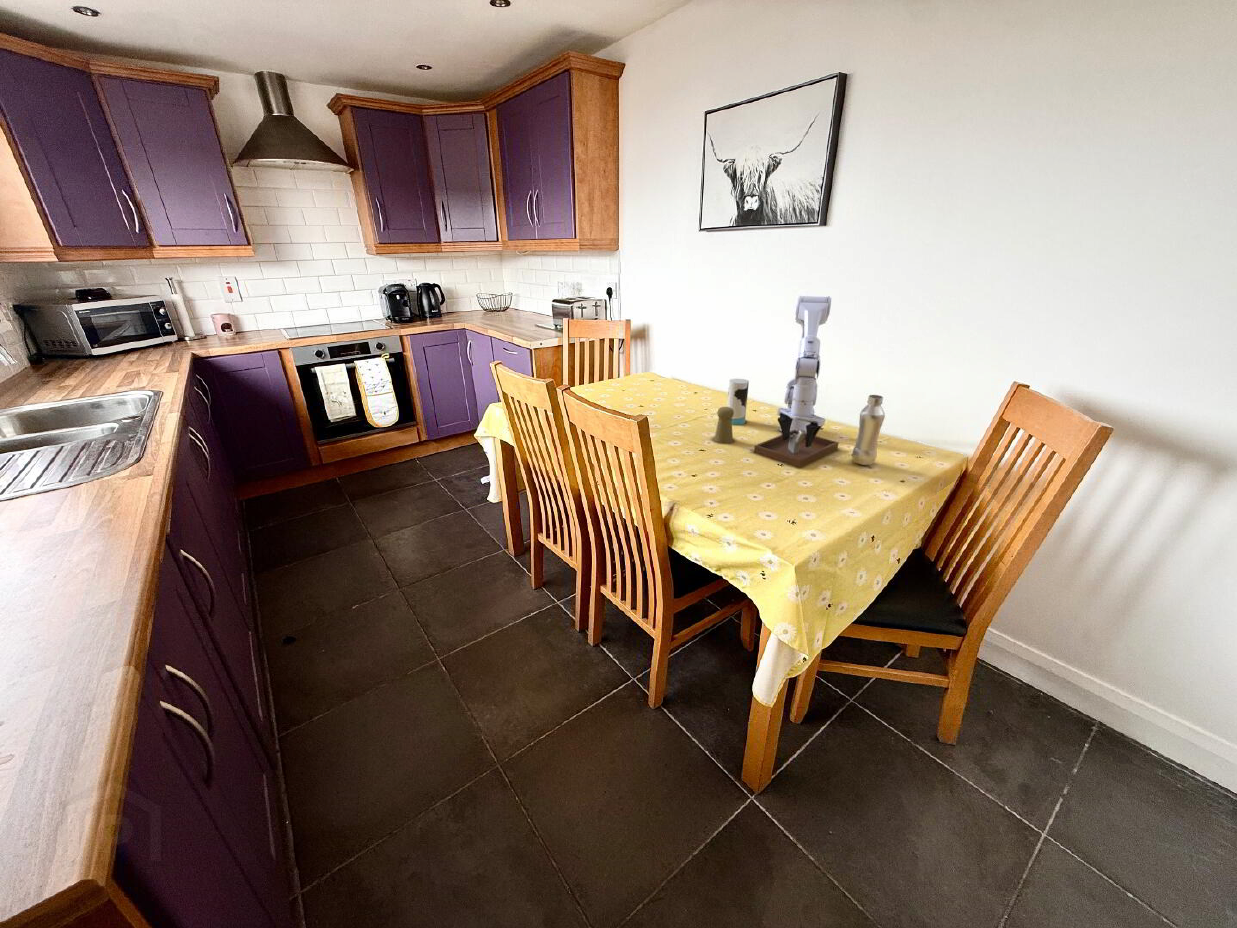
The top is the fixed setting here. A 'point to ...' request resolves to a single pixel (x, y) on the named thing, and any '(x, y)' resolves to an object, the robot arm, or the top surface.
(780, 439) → the tray
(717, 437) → the pawn
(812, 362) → the robot arm
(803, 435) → the lighter
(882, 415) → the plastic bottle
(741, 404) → the cup
